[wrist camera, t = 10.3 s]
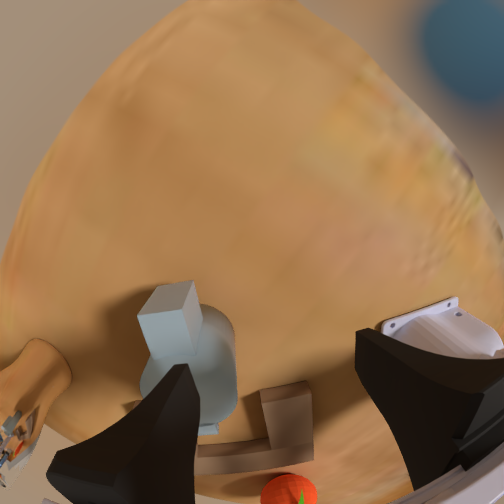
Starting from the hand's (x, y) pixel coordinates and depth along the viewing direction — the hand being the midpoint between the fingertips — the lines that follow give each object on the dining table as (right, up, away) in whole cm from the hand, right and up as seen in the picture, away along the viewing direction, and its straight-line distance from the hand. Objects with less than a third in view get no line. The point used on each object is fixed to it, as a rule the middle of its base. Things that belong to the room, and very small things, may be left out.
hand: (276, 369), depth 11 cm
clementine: (+3, -24, +15) cm, 28 cm away
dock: (-3, -13, +12) cm, 18 cm away
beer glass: (-22, -6, +10) cm, 25 cm away
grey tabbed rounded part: (-5, -2, +10) cm, 11 cm away
